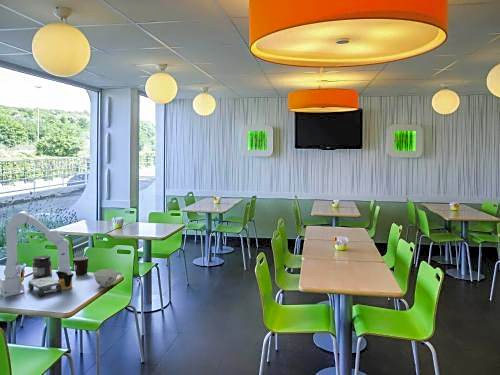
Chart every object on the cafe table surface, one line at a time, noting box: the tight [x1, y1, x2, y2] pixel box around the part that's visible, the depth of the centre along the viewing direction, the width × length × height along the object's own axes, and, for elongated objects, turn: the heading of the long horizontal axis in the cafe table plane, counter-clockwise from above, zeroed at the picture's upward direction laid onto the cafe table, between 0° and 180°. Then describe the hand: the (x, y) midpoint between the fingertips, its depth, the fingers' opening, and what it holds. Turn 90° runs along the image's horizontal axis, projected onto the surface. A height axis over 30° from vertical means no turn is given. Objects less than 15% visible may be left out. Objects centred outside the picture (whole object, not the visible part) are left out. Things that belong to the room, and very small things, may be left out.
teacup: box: [93, 268, 123, 288], centre depth 240 cm, size 15×12×8 cm
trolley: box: [27, 276, 63, 298], centre depth 231 cm, size 11×20×5 cm, turn 44°
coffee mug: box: [72, 256, 89, 277], centre depth 262 cm, size 12×9×10 cm
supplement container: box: [31, 255, 53, 279], centre depth 259 cm, size 10×10×12 cm
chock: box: [57, 278, 73, 291], centre depth 237 cm, size 4×6×5 cm, turn 134°
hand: (65, 285), depth 237 cm, fingers open, 7 cm apart
